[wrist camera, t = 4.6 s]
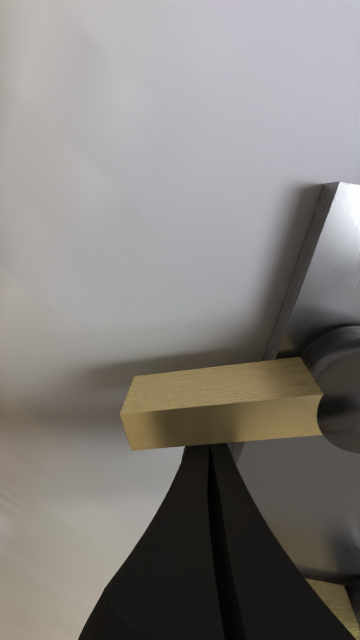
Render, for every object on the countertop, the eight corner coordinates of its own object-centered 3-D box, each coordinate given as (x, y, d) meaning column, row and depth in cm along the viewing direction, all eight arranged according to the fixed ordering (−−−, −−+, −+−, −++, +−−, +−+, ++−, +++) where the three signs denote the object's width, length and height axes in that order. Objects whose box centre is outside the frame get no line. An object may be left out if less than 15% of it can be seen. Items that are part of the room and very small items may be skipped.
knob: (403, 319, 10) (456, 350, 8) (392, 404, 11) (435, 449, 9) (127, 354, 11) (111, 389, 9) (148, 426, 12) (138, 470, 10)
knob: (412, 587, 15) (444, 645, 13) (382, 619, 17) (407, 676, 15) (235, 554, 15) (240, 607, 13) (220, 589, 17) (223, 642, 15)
